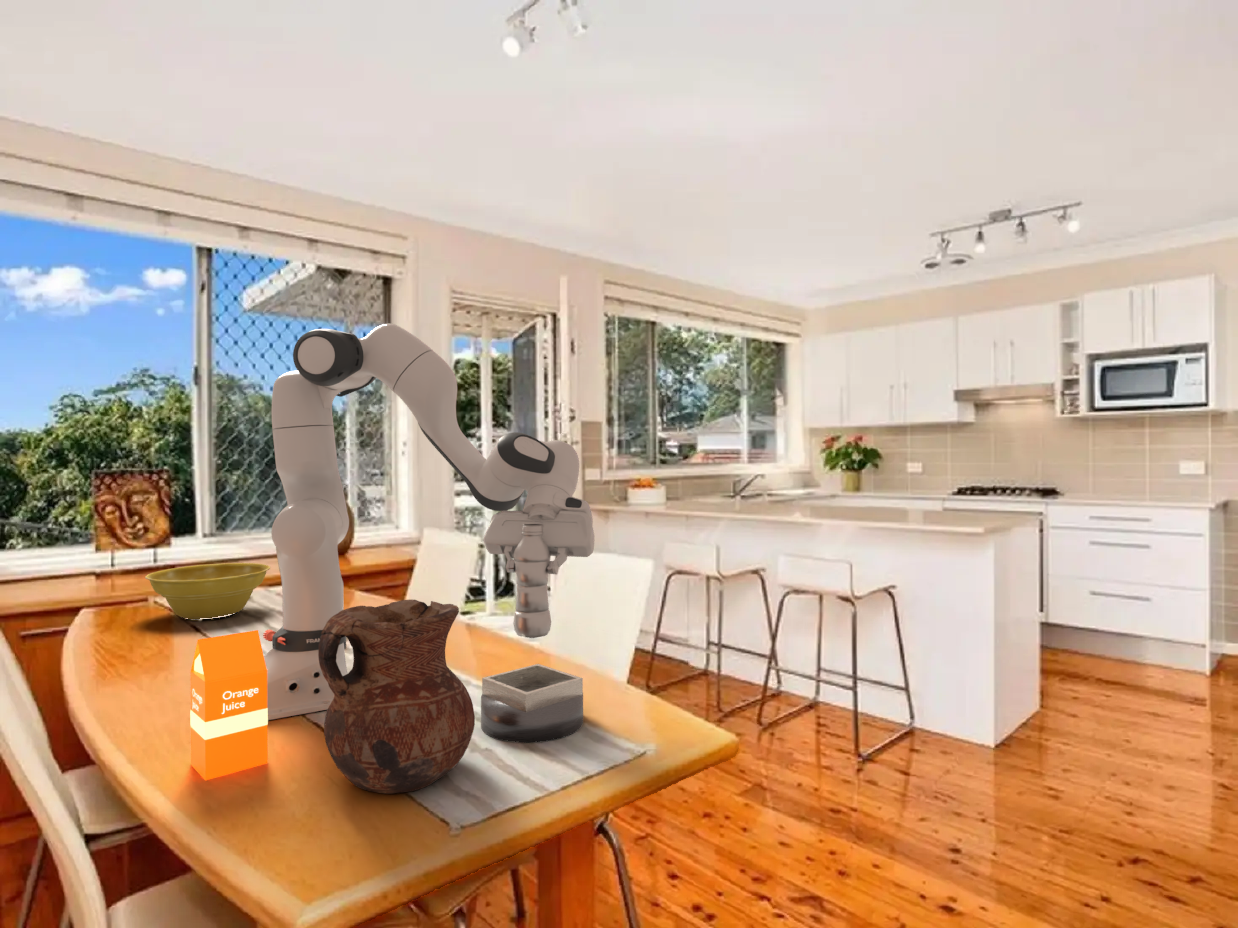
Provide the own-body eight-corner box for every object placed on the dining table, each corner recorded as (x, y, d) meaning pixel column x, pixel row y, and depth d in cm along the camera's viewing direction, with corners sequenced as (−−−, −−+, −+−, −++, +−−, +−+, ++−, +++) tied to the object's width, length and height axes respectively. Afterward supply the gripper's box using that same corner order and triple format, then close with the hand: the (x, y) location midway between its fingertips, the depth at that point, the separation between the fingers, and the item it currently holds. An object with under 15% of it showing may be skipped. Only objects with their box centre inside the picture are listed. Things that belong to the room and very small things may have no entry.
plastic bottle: (544, 642, 127) (545, 526, 127) (507, 640, 128) (508, 525, 128) (555, 633, 133) (556, 523, 133) (520, 631, 135) (520, 522, 134)
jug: (394, 737, 124) (393, 589, 124) (501, 757, 116) (501, 599, 116) (289, 793, 104) (288, 616, 103) (410, 822, 96) (410, 630, 95)
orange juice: (268, 763, 114) (267, 634, 113) (205, 780, 108) (204, 644, 107) (251, 748, 119) (250, 625, 119) (190, 764, 113) (189, 635, 113)
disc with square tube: (522, 751, 118) (522, 702, 118) (455, 720, 132) (455, 675, 132) (604, 722, 131) (604, 677, 131) (535, 696, 145) (535, 656, 145)
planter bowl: (116, 626, 204) (116, 577, 204) (201, 603, 235) (200, 561, 235) (221, 631, 198) (220, 581, 198) (293, 606, 230) (292, 563, 230)
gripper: (490, 499, 139) (470, 558, 130) (596, 501, 135) (583, 562, 126) (498, 521, 144) (479, 579, 134) (600, 523, 140) (589, 584, 130)
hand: (531, 571), depth 130 cm, fingers closed on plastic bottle, 6 cm apart
